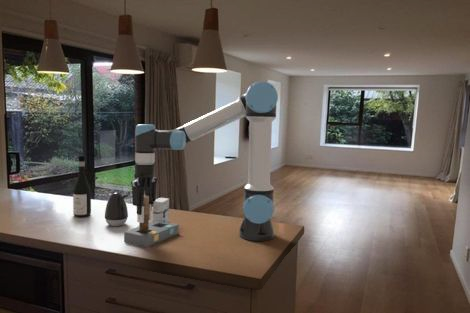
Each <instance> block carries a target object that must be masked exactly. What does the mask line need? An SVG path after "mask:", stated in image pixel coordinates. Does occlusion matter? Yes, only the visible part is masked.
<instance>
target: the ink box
mask: <svg viewBox="0 0 470 313" xmlns="http://www.w3.org/2000/svg"><path fill="white" fill-rule="evenodd" d="M169 208H170V198H168V197H167V198H166V197H159V198H156V200H155V201H154V204H152V222H153V221H156V220H158V221H163V222H168V223H170V222H169V221H170V209H169Z"/></svg>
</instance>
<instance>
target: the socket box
mask: <svg viewBox="0 0 470 313" xmlns="http://www.w3.org/2000/svg"><path fill="white" fill-rule="evenodd" d="M123 234H124V235H123V236H124V237H123V239H124V240H123V242H124V243H128V244H133V245H136V246H141V247H145V248H149V247H151V246H154V245H156V244H158V243H161V242H162V241H165V240H167V239H169V238H171V237H174V236H176V235H178V234H179V224H178V223H173V222H172V223H171V222H163V221H158V220H156V221H153V220H152V221H151V222H150V221H149V230H148V231H139V226H137V227H134V228H131V229H129V230H125V231H124V233H123Z"/></svg>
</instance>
